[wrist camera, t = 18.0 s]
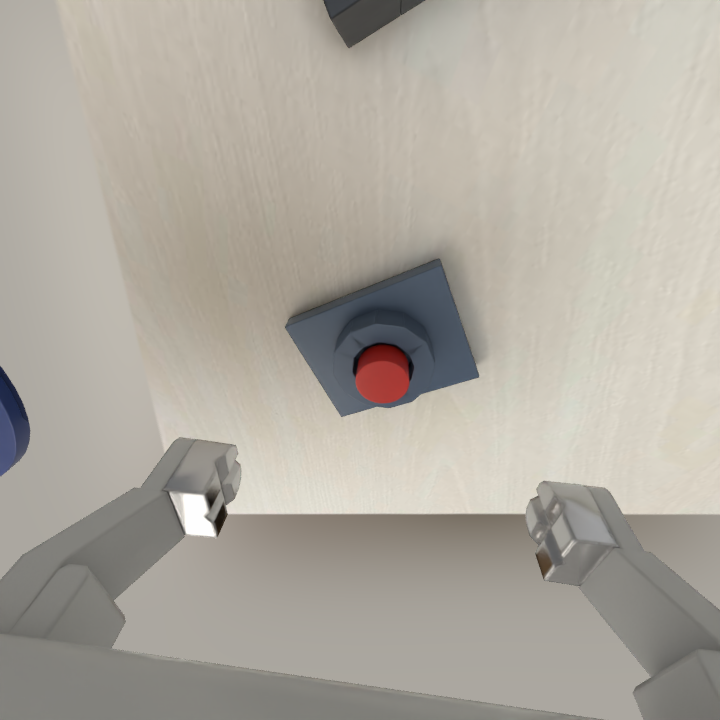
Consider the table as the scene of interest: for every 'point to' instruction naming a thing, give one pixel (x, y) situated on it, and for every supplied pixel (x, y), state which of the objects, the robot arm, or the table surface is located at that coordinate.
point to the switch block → (387, 336)
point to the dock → (364, 16)
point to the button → (382, 374)
